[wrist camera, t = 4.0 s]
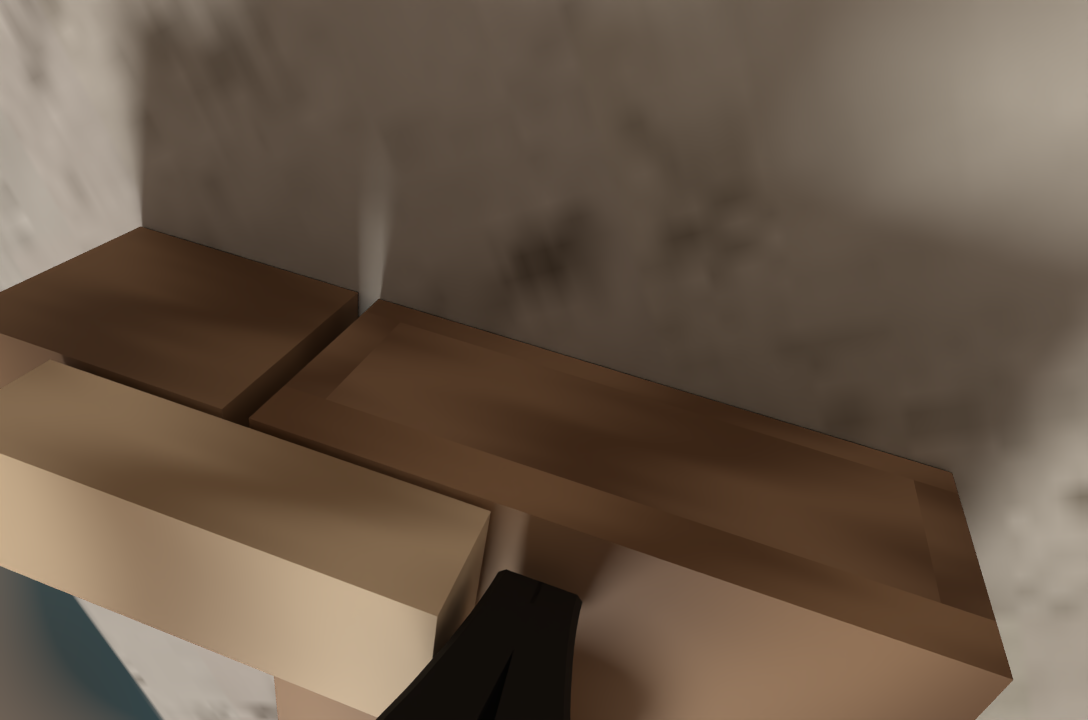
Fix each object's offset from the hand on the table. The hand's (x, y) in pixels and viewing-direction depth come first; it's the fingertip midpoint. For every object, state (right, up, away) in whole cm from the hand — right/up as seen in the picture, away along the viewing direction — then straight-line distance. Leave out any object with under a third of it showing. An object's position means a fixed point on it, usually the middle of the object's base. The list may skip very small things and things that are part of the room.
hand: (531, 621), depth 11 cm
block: (-5, +2, +1) cm, 5 cm away
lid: (+1, -2, +3) cm, 4 cm away
